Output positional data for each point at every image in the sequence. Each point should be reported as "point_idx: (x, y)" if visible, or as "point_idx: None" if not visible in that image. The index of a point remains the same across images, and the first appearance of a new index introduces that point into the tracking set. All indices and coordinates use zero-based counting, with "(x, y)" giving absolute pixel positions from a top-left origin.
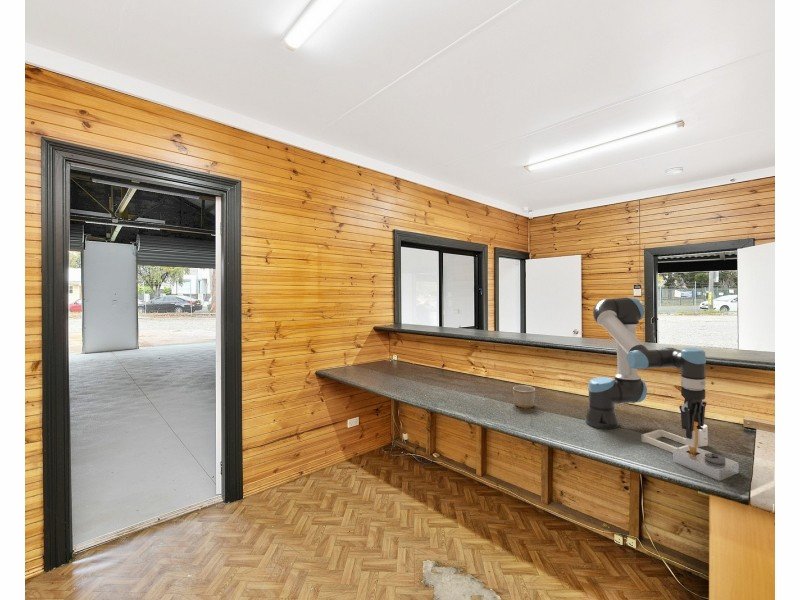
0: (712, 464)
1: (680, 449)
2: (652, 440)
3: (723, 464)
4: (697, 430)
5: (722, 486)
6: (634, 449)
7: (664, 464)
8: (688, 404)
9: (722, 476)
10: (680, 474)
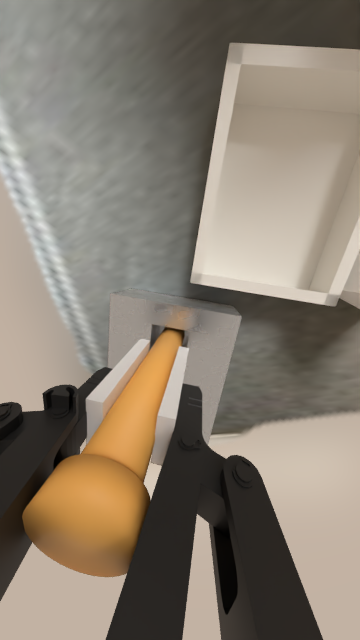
0: None
1: (157, 303)
2: (214, 143)
3: None
4: (154, 449)
5: None
6: (123, 130)
7: (105, 274)
8: None
9: None
10: (88, 328)
